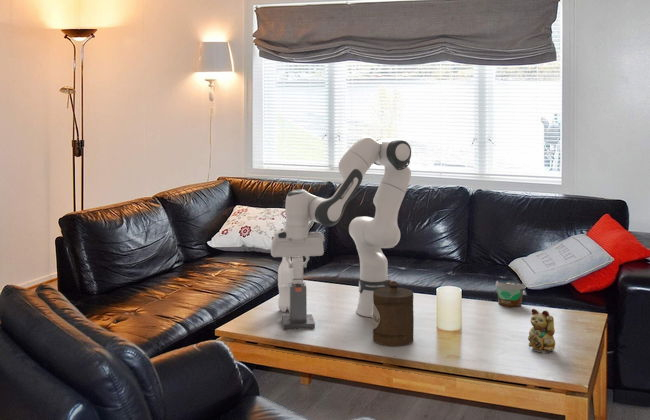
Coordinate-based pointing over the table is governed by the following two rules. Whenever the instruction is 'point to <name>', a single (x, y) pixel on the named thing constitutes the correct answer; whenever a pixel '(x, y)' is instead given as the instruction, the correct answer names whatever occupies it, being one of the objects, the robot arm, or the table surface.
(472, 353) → the table surface
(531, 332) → the decorative figurine
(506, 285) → the food container
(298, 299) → the stand
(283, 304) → the water bottle
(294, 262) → the column
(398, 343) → the wooden container
